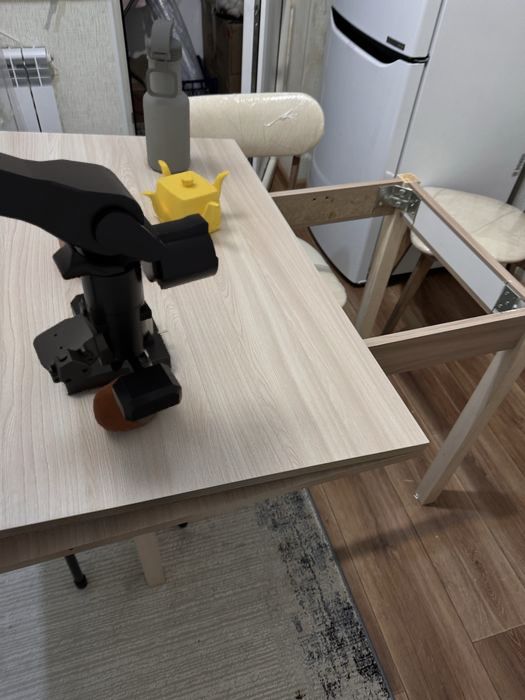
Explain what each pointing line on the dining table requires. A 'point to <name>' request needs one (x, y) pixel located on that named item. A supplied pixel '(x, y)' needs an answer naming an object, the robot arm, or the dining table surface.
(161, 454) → the dining table surface
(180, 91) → the water bottle
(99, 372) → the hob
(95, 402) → the potato
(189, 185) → the teapot
